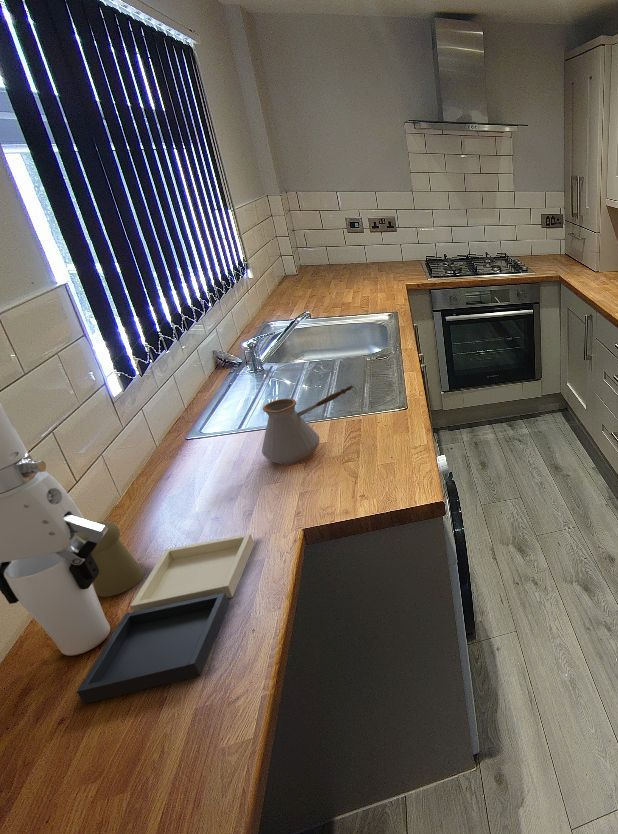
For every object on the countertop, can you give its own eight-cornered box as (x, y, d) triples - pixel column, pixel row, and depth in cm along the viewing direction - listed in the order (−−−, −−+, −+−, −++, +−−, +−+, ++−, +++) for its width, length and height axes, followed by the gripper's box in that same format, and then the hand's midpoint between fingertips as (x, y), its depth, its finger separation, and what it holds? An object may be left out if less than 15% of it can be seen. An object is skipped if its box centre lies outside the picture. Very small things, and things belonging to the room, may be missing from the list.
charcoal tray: (84, 704, 66) (75, 691, 65) (131, 625, 77) (125, 613, 76) (200, 675, 69) (194, 663, 68) (229, 604, 80) (225, 592, 79)
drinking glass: (116, 613, 79) (73, 534, 72) (120, 641, 74) (75, 559, 68) (54, 641, 74) (3, 559, 68) (55, 672, 70) (0, 588, 64)
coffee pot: (260, 473, 112) (239, 411, 106) (270, 447, 122) (252, 389, 116) (367, 454, 119) (353, 395, 113) (369, 431, 129) (356, 375, 122)
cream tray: (135, 618, 78) (129, 606, 77) (170, 560, 89) (165, 549, 88) (232, 597, 81) (227, 585, 80) (254, 544, 92) (250, 533, 91)
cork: (123, 596, 82) (94, 541, 77) (85, 596, 82) (53, 541, 77) (153, 568, 87) (128, 515, 83) (118, 568, 87) (90, 515, 83)
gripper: (95, 449, 68) (146, 555, 76) (-79, 473, 64) (-6, 583, 71) (61, 481, 62) (120, 593, 69) (-135, 510, 57) (-49, 627, 64)
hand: (56, 587), depth 70 cm, fingers closed on drinking glass, 6 cm apart
